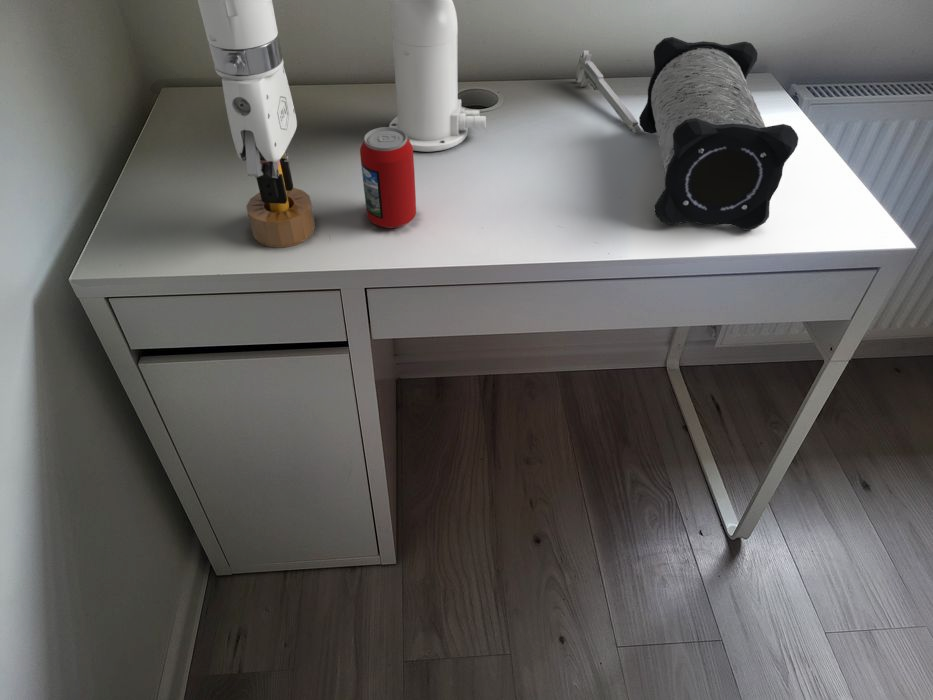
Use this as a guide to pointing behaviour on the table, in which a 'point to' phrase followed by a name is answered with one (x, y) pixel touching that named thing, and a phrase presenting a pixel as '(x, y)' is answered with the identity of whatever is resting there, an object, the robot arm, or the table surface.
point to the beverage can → (388, 177)
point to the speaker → (712, 135)
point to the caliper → (603, 89)
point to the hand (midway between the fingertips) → (278, 194)
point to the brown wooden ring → (282, 220)
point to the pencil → (283, 207)
